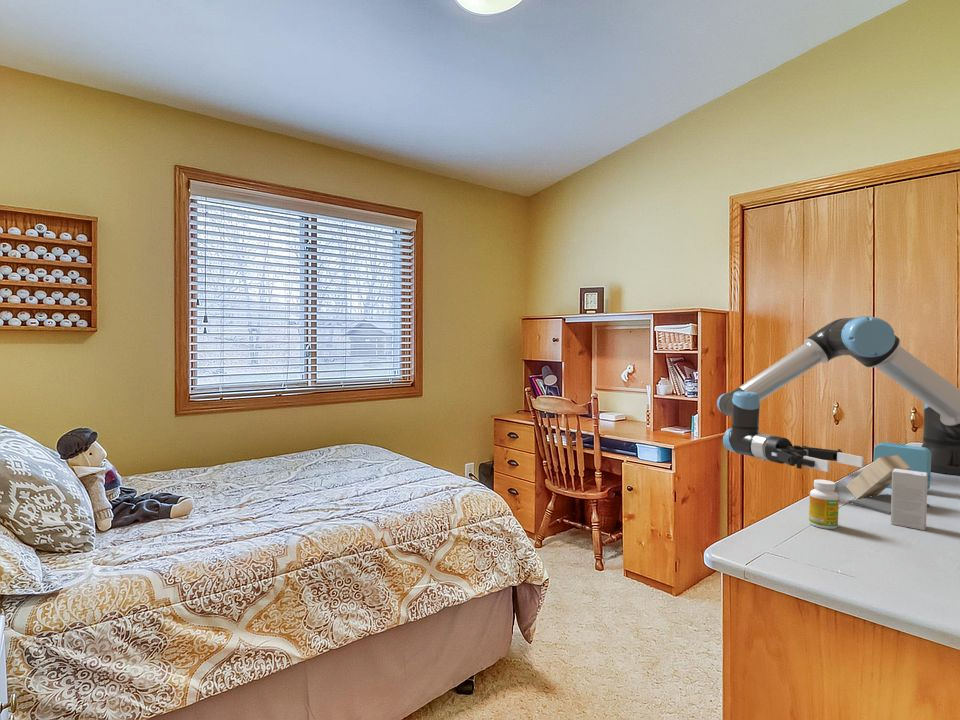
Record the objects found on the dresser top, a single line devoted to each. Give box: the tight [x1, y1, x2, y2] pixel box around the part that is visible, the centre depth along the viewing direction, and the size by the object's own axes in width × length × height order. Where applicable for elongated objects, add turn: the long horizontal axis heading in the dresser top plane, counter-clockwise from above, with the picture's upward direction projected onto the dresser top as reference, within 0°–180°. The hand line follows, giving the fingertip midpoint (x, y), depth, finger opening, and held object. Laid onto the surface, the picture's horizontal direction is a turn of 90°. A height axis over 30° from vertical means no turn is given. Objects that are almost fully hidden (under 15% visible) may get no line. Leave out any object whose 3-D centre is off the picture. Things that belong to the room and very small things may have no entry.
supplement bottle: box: [808, 479, 840, 530], centre depth 119 cm, size 5×5×10 cm
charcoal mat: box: [847, 493, 930, 516], centre depth 134 cm, size 16×10×1 cm, turn 113°
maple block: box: [845, 455, 911, 499], centre depth 138 cm, size 8×4×12 cm
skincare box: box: [890, 469, 928, 531], centre depth 119 cm, size 6×4×12 cm
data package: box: [873, 442, 932, 491], centre depth 149 cm, size 12×4×12 cm, turn 42°
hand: (846, 464), depth 139 cm, fingers open, 13 cm apart
